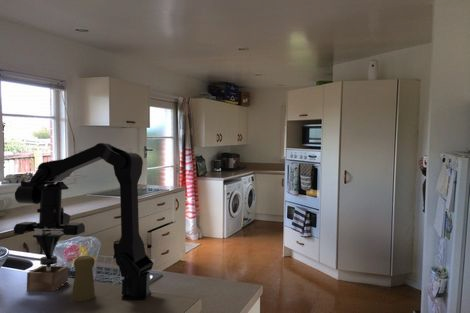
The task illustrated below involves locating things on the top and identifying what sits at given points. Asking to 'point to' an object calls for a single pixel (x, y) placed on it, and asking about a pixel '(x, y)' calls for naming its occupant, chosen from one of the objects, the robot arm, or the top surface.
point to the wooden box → (46, 278)
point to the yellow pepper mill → (83, 279)
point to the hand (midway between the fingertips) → (49, 257)
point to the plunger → (48, 262)
